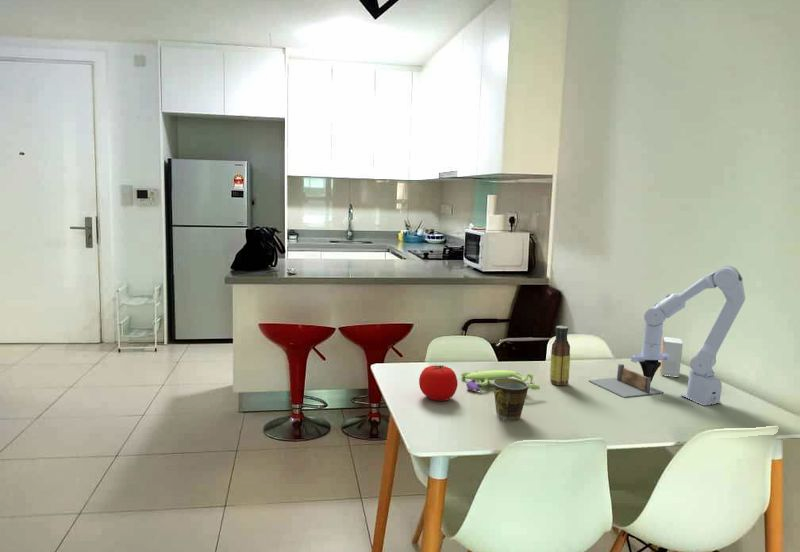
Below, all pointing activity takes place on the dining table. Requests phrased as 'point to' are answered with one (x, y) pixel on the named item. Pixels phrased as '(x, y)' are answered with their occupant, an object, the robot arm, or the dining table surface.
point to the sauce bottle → (560, 358)
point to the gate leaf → (634, 379)
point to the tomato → (438, 382)
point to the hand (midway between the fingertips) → (647, 381)
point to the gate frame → (623, 386)
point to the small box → (671, 356)
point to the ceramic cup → (509, 397)
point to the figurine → (493, 378)
